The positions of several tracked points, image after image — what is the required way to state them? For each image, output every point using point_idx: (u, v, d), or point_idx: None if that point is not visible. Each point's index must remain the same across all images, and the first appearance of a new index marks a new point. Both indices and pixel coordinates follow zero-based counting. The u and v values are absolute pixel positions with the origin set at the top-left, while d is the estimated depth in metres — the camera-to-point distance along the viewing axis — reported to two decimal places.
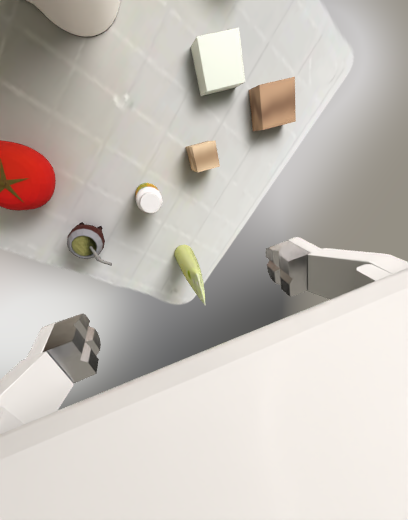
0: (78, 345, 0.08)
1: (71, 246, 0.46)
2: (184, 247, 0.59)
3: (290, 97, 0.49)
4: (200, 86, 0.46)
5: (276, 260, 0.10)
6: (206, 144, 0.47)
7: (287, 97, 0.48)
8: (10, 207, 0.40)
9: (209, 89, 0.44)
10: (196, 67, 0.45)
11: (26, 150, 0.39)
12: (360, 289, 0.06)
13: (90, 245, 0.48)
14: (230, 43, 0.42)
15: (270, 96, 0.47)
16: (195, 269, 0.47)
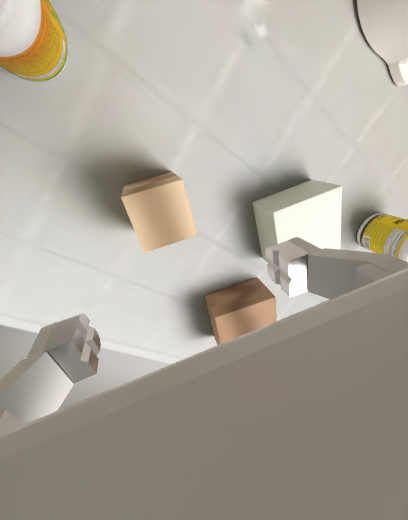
0: (78, 345, 0.08)
1: None
2: None
3: None
4: (268, 200, 0.26)
5: (276, 260, 0.10)
6: (189, 216, 0.20)
7: None
8: None
9: (276, 216, 0.24)
10: (291, 190, 0.27)
11: None
12: (360, 289, 0.06)
13: None
14: (326, 242, 0.27)
15: (260, 315, 0.29)
16: None
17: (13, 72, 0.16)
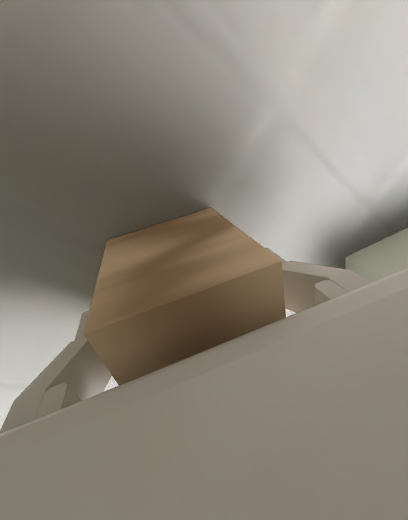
0: None
1: None
2: None
3: None
4: (382, 256, 0.14)
5: None
6: None
7: None
8: None
9: None
10: None
11: None
12: (360, 289, 0.06)
13: None
14: None
15: None
16: None
17: None
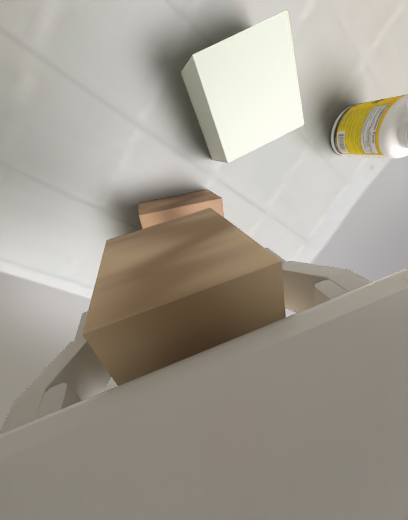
0: None
1: None
2: None
3: None
4: None
5: None
6: None
7: None
8: None
9: (197, 62, 0.17)
10: None
11: None
12: (360, 289, 0.06)
13: None
14: (281, 109, 0.20)
15: None
16: None
17: None
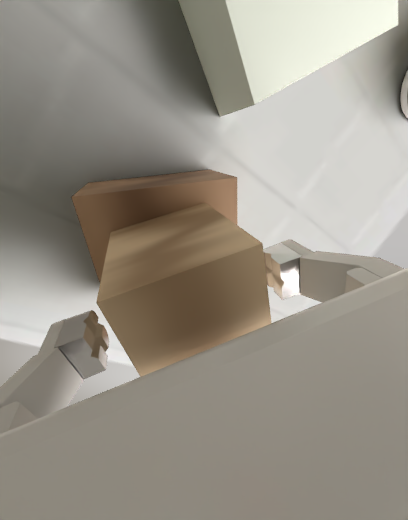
0: (88, 341, 0.08)
1: None
2: None
3: None
4: None
5: (269, 263, 0.10)
6: (264, 319, 0.08)
7: None
8: None
9: None
10: None
11: None
12: (360, 289, 0.06)
13: None
14: None
15: None
16: None
17: None
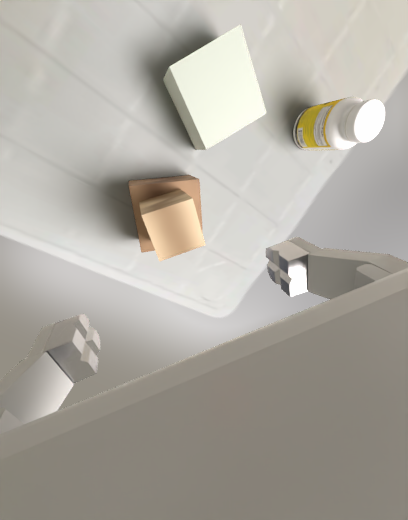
0: (78, 345, 0.08)
1: None
2: None
3: None
4: None
5: (276, 260, 0.10)
6: (198, 228, 0.23)
7: None
8: None
9: (174, 72, 0.22)
10: None
11: None
12: (360, 289, 0.06)
13: None
14: (245, 102, 0.25)
15: None
16: None
17: None
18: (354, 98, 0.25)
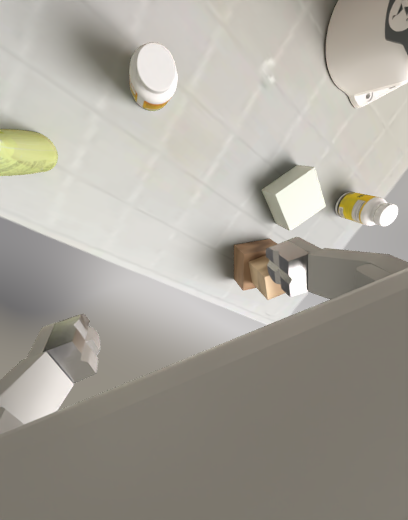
0: (78, 345, 0.08)
1: None
2: (52, 151, 0.30)
3: None
4: (271, 186, 0.42)
5: (276, 260, 0.10)
6: None
7: None
8: None
9: (277, 196, 0.39)
10: (285, 176, 0.42)
11: None
12: (360, 289, 0.06)
13: None
14: (314, 203, 0.42)
15: None
16: (13, 148, 0.18)
17: (146, 107, 0.31)
18: (379, 199, 0.42)
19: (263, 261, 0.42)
